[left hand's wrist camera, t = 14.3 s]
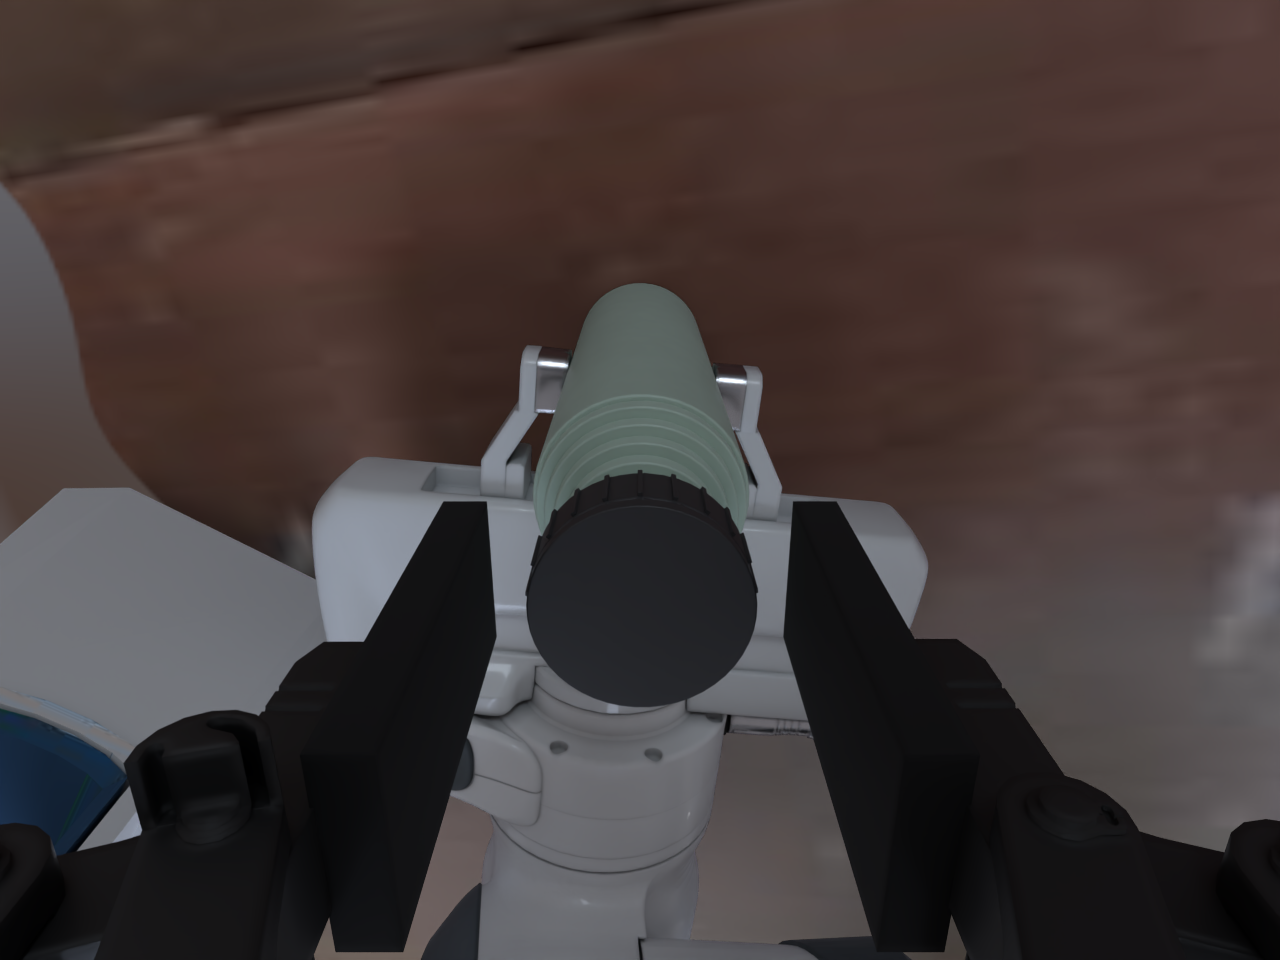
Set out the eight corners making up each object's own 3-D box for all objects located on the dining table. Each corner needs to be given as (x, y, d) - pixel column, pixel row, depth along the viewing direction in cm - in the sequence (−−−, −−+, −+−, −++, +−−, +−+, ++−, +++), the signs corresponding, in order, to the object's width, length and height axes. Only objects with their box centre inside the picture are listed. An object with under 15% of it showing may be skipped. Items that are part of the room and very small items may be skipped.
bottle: (718, 369, 33) (824, 653, 14) (614, 419, 34) (583, 753, 15) (667, 261, 32) (710, 419, 13) (559, 316, 32) (448, 543, 13)
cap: (783, 611, 15) (797, 658, 14) (595, 691, 16) (592, 742, 14) (694, 431, 14) (699, 462, 13) (493, 525, 15) (478, 565, 13)
